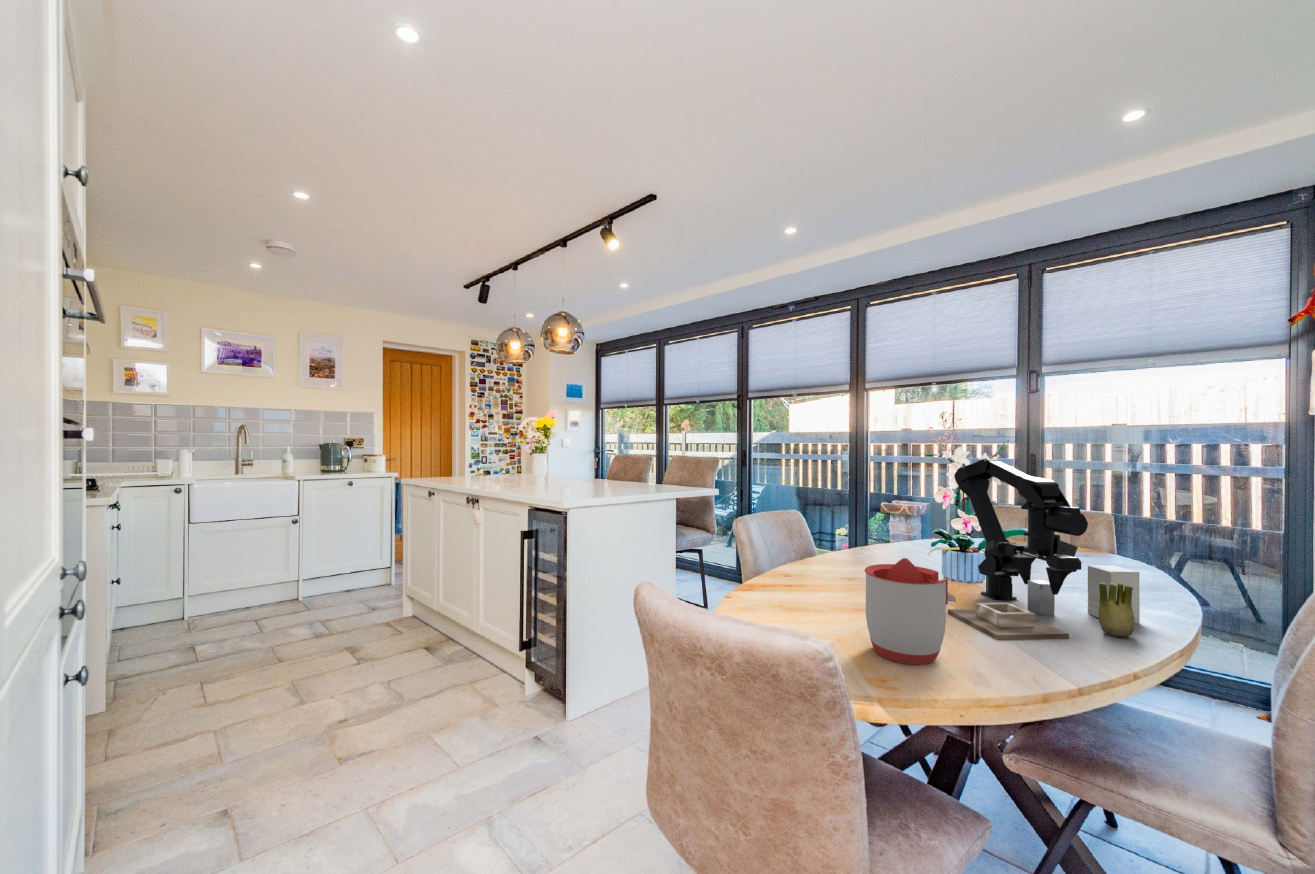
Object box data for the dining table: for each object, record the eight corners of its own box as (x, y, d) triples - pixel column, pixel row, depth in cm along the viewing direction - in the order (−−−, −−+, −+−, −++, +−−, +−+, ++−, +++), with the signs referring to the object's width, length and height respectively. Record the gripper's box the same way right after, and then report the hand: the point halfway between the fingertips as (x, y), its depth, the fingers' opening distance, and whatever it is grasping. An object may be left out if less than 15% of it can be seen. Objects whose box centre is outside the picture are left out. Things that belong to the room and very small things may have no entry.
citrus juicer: (969, 675, 101) (969, 569, 101) (871, 666, 104) (872, 564, 104) (942, 644, 116) (942, 552, 116) (858, 637, 120) (858, 548, 120)
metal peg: (1027, 610, 140) (1027, 580, 140) (1041, 610, 140) (1042, 579, 140) (1039, 615, 136) (1039, 584, 136) (1054, 615, 136) (1054, 583, 136)
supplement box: (1141, 623, 130) (1141, 572, 130) (1110, 623, 130) (1110, 571, 130) (1115, 613, 137) (1115, 564, 137) (1086, 613, 138) (1086, 564, 138)
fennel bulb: (1096, 633, 123) (1097, 581, 123) (1105, 629, 126) (1105, 578, 126) (1128, 641, 118) (1129, 587, 118) (1136, 637, 121) (1137, 584, 121)
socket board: (947, 613, 137) (947, 597, 137) (1010, 611, 138) (1010, 596, 138) (997, 639, 119) (997, 621, 119) (1069, 637, 120) (1069, 620, 120)
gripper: (1103, 535, 129) (1102, 599, 129) (1041, 522, 148) (1041, 579, 148) (1059, 535, 128) (1059, 600, 128) (1003, 523, 147) (1003, 579, 147)
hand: (1040, 589), depth 138 cm, fingers open, 9 cm apart
